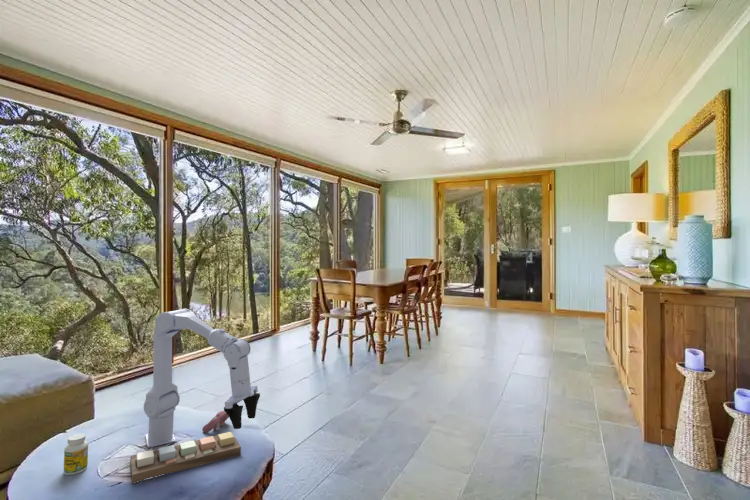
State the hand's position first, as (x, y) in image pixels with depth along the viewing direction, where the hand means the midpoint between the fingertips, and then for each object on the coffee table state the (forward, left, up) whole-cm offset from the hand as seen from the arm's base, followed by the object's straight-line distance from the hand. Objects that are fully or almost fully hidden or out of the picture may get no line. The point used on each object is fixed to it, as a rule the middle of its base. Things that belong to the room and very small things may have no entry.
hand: (244, 423), depth 119 cm
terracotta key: (-7, -9, -9) cm, 15 cm away
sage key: (-7, -15, -9) cm, 19 cm away
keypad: (-7, -15, -11) cm, 20 cm away
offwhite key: (-7, -26, -9) cm, 28 cm away
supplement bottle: (-17, -42, -11) cm, 47 cm away
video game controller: (-24, -2, -11) cm, 27 cm away
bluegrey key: (-7, -20, -9) cm, 24 cm away
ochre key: (-7, -4, -9) cm, 12 cm away
